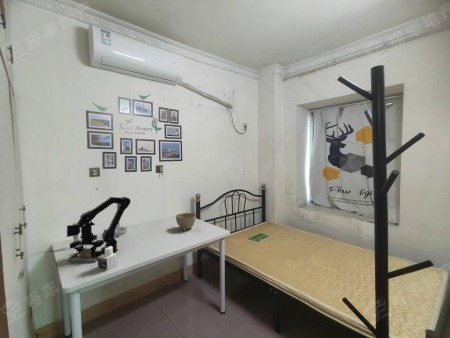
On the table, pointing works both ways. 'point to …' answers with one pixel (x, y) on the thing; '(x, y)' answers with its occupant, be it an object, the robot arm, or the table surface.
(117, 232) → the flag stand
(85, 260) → the bay
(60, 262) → the table surface
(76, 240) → the human figurine
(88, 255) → the brown block
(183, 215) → the flower pot
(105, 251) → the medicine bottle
